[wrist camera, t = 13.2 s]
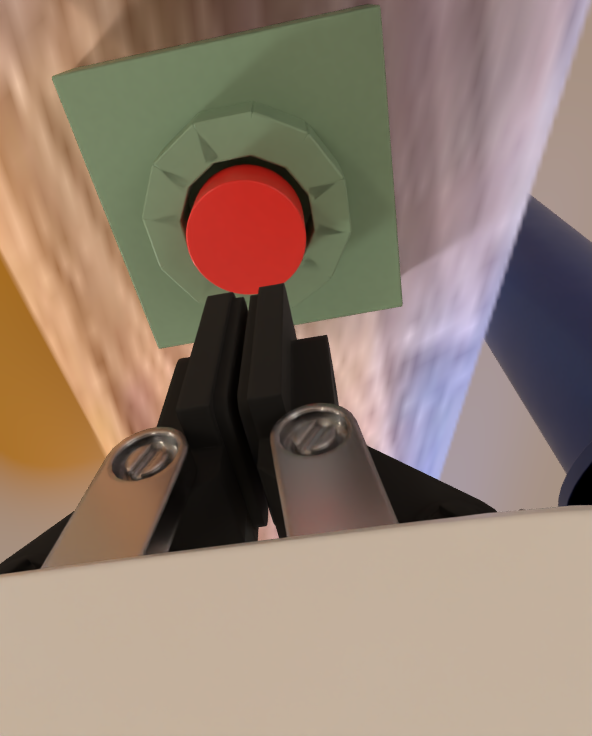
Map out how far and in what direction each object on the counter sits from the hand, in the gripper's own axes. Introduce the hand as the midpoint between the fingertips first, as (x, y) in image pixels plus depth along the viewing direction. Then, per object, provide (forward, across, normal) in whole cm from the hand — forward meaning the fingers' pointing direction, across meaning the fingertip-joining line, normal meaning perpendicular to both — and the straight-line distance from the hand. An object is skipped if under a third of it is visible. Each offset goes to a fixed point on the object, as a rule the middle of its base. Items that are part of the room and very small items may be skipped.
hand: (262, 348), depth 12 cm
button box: (+11, +1, -1) cm, 11 cm away
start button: (+7, +1, -1) cm, 7 cm away
